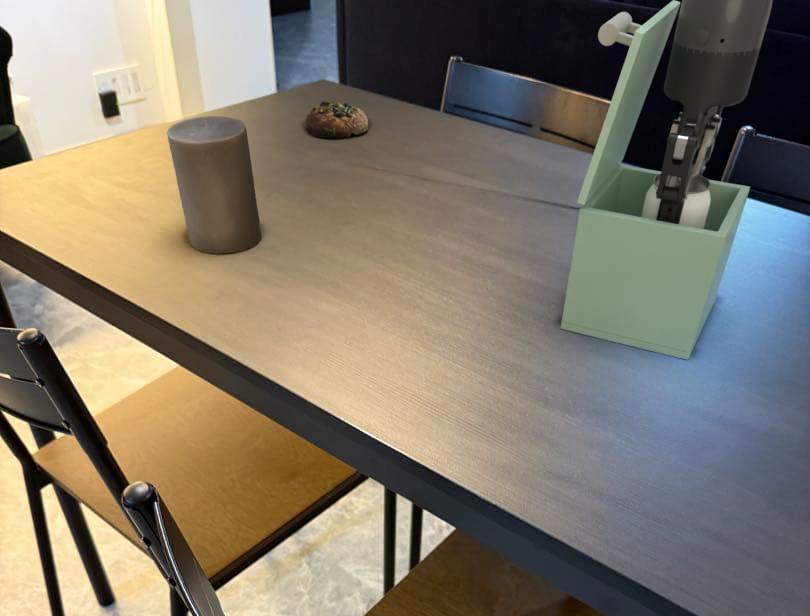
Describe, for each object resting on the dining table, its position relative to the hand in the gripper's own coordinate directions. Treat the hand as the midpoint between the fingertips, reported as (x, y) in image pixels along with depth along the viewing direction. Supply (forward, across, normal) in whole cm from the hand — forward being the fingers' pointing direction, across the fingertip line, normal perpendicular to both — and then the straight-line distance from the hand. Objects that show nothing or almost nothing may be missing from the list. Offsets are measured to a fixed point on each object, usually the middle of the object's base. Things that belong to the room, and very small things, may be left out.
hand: (672, 223), depth 80 cm
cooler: (+11, 0, +1) cm, 11 cm away
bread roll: (+11, +40, +65) cm, 77 cm away
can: (+8, 0, 0) cm, 8 cm away
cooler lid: (-10, 0, +6) cm, 12 cm away
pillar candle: (+11, -5, +56) cm, 57 cm away
